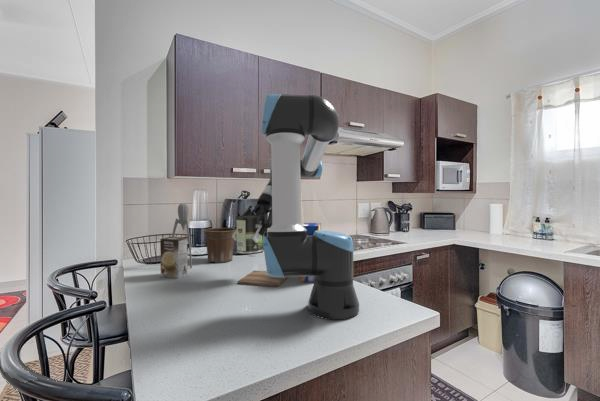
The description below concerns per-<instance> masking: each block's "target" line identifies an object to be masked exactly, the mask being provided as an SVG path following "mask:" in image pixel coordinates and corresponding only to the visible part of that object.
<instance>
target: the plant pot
mask: <svg viewBox="0 0 600 401" xmlns="http://www.w3.org/2000/svg"><path fill="white" fill-rule="evenodd" d="M235 230H236V228H234V227H212V228H210V227H209V228H204V229H203V232H204V237H205V242H206V243H205V244H206V251H207V252H206V254H207V261H208V262H209V263H215V264H222V263H228V262H231V261H233V254H234V243H235V240H234V238H233V237H232V236H233V234H234V233H235Z"/></svg>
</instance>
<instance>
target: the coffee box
mask: <svg viewBox="0 0 600 401" xmlns="http://www.w3.org/2000/svg"><path fill="white" fill-rule="evenodd" d="M159 240H160V243H159V244H160V277H161V278H169V279H181V278H184V277H186V276H188V237H180V236H174V237H172V236H168V237H163V238H160V239H159Z"/></svg>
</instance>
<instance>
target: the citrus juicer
mask: <svg viewBox="0 0 600 401" xmlns="http://www.w3.org/2000/svg"><path fill="white" fill-rule="evenodd" d="M189 211H190V210H189V205H188V204H187V203H185V202H184V203H183V202H182V203H180V204H178V207H177V216H178V218H175V220H174V225H173V229H172V234H171V237H175V234H176V230H177V227H178V224H180V225H181V228H182V230H183V232H184V230H185V228H186V231H187V242H188V249H189V268H190V269H192V268H193V263H192V262H193V261H192V260H193V259H192V244H191V235H190V234H191V233H190V227H189Z"/></svg>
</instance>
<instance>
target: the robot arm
mask: <svg viewBox="0 0 600 401" xmlns="http://www.w3.org/2000/svg"><path fill="white" fill-rule="evenodd" d="M263 105H264V106H263V113H262V120H261V121H262V122H261V134H263V135H266V136H265V138H266V139H265V140H266V141H267V142H268V143H269V144H270V146H271V159H270V165H269V170H270V171H269V181H268V182H267V184H266V186H265V187H264V189H263V190H262V192H261V194H260V195H259V197H258V199H257V203H256V205H254V206H253V205H249V206H248V208H247V209H246V211H245V212H244V213H243V214H242V215H241V216H245V215H260V216H262V224H261V225H262V226H261V225H260V226H259V228H258V229H257V231H256V233H255V235H254V236H253V238H252V239H253V240H254V242H255V243H257V242H258V240H259V239H260V237H261V235H262V248H263V252H264V260H265V268H266V271H267V273H268V275H269V276H271V277H283V278H285V277H287V278H295V277H297V278H298V277H300V278H301V276H314V282H313V284H312V285H313V286H312V289H311V291H310V294H309V298H308V301H307V305H308V307H307V308H308V309H309V310H308V311H310V312H311V313H310V312H309V313H310V314H311V315H313V314H314V315H313V316H315V315H316V316H315V317H317V316H319V317H318V318H321V317H323V318H322V319H325V318H327V319H326V320H335V319H338V320H346V318H347V319H351V318H353V316H354V317H356V316H357V315H358V314H359V313H360V302H359V299H358V295H357V292H356V289H355V286H354V252H355V250H354V242H353V238H352V236H350V235H349V234H346V233H342V232H337V231H330V230H323V229H321V230H320V231H319V230H317V231H314V234H313V235H314V236H307V230H306V229H305V228H304V227H303V226H302V225H303V223H302V189H301V188H302V187H301V186H302V185H301V183H302V181H301V179H302V178H312V179H314V178H319V177H321V176H322V174H323V163H322V159H323V157H324V156H325V152H326V150H327V149H328V146H329V144H330V142H331V141H333V139H335V137H336V136H337V133H338V131H339V126H340V120H339V114H338V112H337V110H336V109H335V107H334V105H333V104H332V103H331V102H330V101H328V99H326V98H325V97H322V96H319V95H314V94H313V95H311V94H310V95H309V94H308V95H307V94H292V93H291V94H286V93H274V94H273V93H271V94H270V93H269V94H268V95H266V97H265V99H264V104H263ZM306 135H307V136H308V138H307V141H306V145H305V148H304V152H303V155H302V158H301V144H302V143H303V142H304V141H305V139H306ZM266 230H267V231H266ZM265 232H267V235H266V236H263V235H264V234H265ZM232 237H233V238H234V242H235V241H236V242H237V230H235V233H234V234H233V236H232ZM358 312H359V313H358ZM355 315H356V316H355ZM350 317H351V318H350Z"/></svg>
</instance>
